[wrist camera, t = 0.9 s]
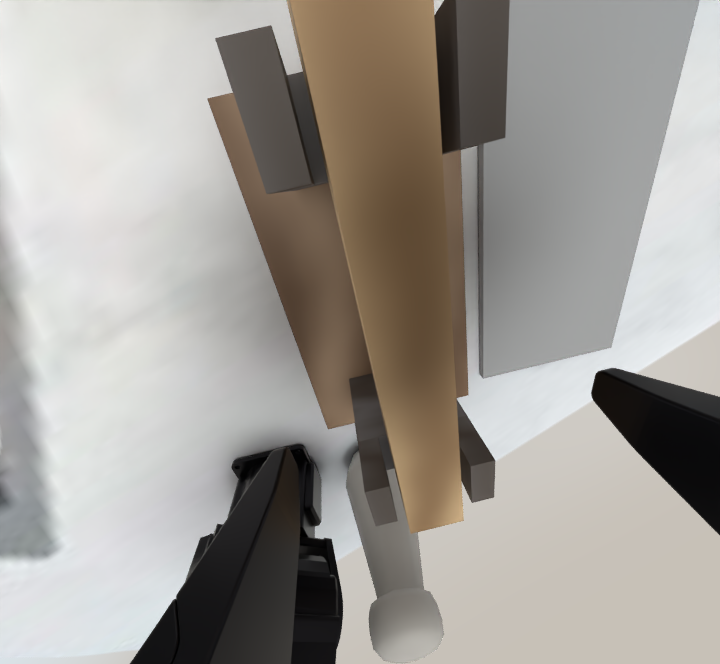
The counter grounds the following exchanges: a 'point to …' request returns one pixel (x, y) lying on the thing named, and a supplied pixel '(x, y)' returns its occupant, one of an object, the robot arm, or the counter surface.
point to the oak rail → (392, 224)
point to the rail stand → (320, 226)
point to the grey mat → (572, 172)
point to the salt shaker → (394, 579)
